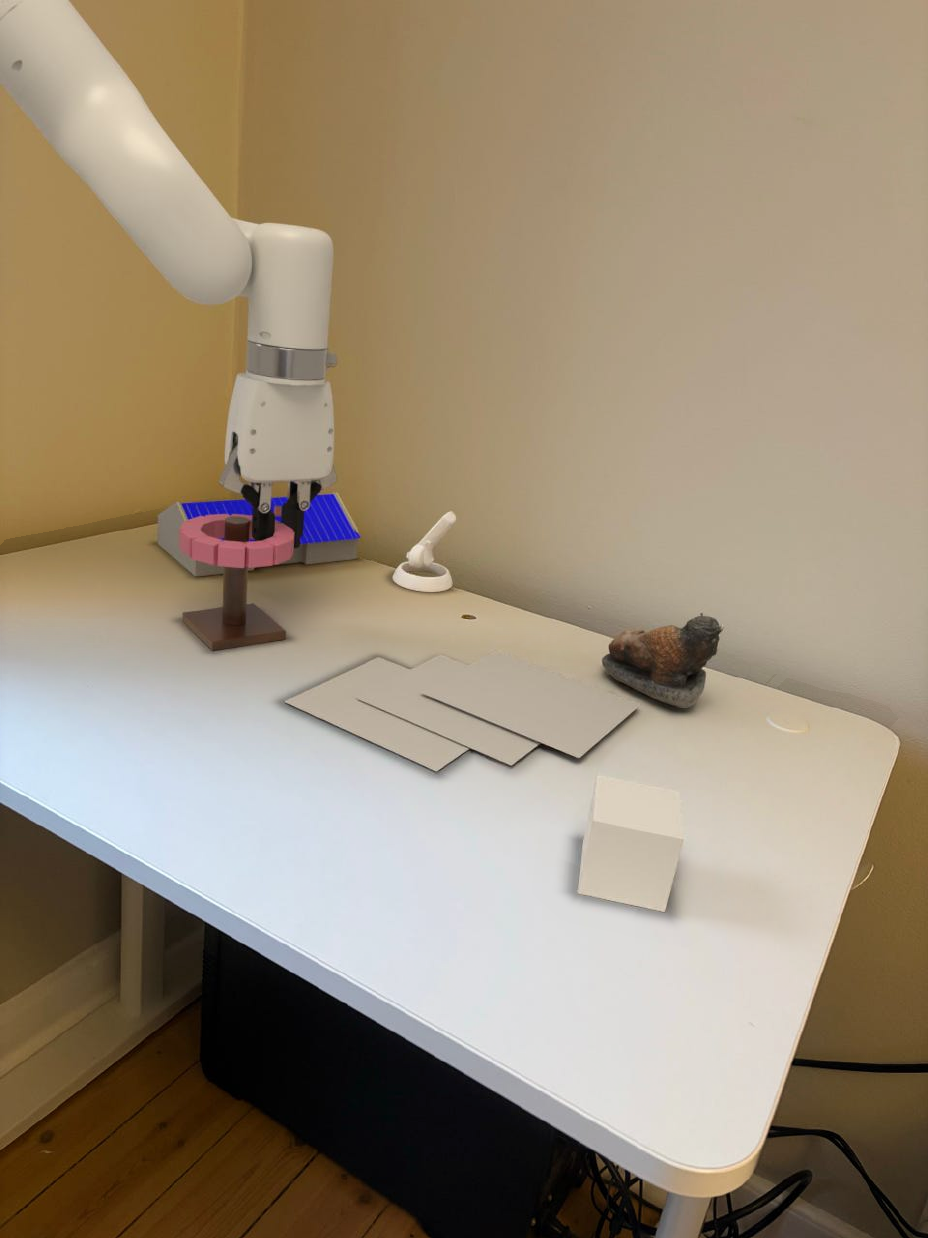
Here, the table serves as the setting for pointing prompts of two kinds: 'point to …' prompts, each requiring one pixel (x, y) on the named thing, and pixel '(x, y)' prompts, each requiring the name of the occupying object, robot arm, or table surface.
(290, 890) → the table surface
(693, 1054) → the table surface
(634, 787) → the off-white cube
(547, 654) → the table surface
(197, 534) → the ring
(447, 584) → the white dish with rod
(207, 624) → the stand
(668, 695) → the bison figurine
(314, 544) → the roof
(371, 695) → the paper stack
